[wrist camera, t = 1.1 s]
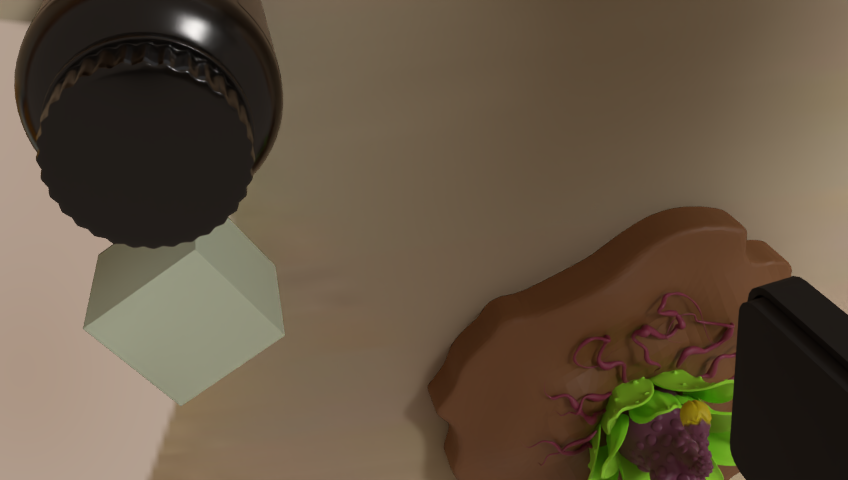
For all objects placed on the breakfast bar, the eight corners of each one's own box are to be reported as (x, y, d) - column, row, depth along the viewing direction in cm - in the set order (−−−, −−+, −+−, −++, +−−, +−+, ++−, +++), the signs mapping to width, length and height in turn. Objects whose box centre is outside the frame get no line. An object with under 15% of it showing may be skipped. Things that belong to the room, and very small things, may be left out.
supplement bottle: (63, 99, 29) (-11, 283, 19) (53, -104, 26) (-44, -11, 16) (258, 113, 31) (284, 287, 21) (272, -74, 27) (310, 26, 18)
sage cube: (196, 184, 32) (195, 249, 28) (275, 265, 34) (285, 335, 30) (98, 254, 32) (83, 328, 28) (183, 328, 35) (181, 406, 31)
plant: (520, 557, 49) (592, 744, 40) (378, 353, 39) (433, 545, 29) (813, 408, 48) (958, 565, 39) (753, 156, 38) (932, 290, 28)
